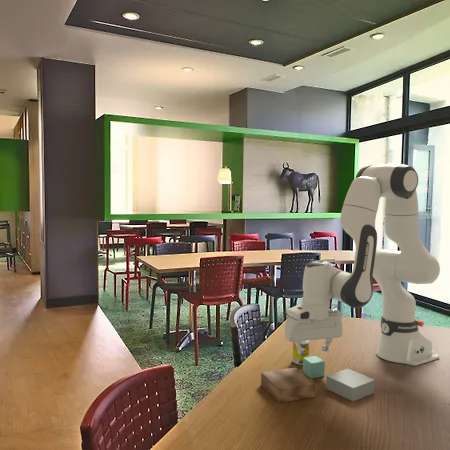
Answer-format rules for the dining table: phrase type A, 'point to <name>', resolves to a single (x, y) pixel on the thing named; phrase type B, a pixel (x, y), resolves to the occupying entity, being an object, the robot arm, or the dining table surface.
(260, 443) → the dining table surface
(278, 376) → the walnut block
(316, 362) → the teal cube
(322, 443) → the dining table surface
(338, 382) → the slate block
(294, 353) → the supplement bottle
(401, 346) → the robot arm
